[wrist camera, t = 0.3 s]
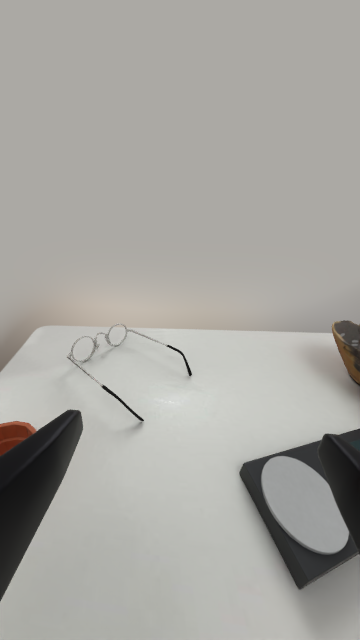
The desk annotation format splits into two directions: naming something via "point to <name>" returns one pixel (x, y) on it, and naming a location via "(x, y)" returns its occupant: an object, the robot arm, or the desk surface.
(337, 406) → the desk surface
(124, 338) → the eyeglasses
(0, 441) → the terracotta cup
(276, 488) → the scale
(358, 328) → the bowl
